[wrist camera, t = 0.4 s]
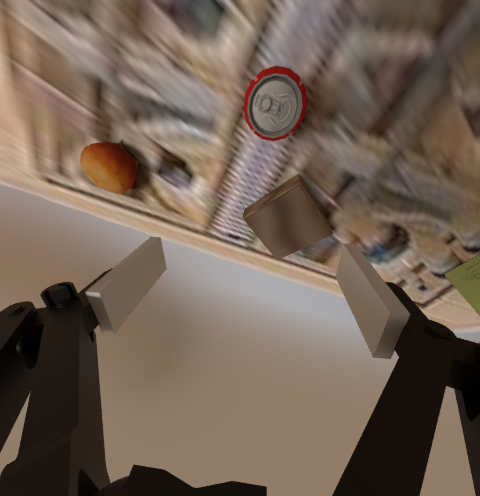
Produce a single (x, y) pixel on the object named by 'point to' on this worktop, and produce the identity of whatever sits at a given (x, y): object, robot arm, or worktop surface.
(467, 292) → the protein box
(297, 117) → the soda can
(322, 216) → the walnut plinth
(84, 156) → the fruit
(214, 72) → the worktop surface
